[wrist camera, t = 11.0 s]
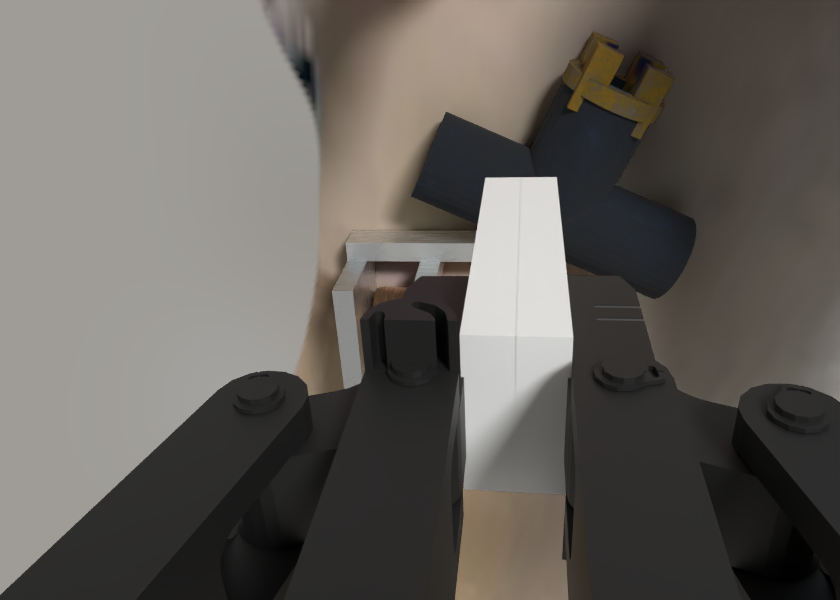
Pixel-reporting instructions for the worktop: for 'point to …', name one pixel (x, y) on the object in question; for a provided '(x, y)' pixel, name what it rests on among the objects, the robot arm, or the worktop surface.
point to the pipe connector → (578, 169)
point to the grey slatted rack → (360, 280)
